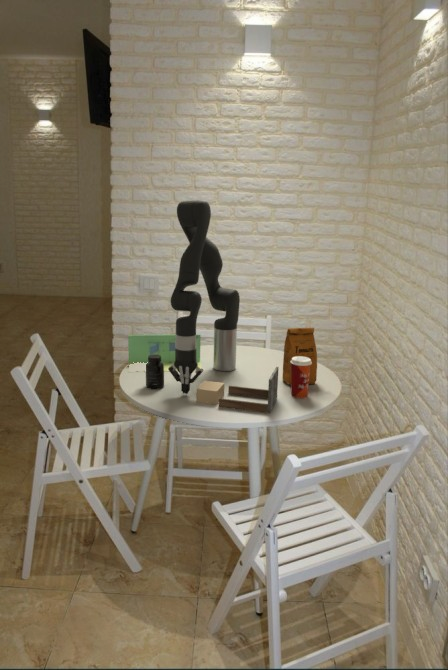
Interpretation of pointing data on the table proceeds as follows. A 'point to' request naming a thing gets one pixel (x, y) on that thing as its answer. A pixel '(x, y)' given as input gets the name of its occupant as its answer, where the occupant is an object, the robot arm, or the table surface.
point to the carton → (210, 392)
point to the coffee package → (300, 351)
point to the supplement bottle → (154, 372)
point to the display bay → (253, 392)
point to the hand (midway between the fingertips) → (185, 392)
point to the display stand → (156, 349)
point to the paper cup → (300, 376)
